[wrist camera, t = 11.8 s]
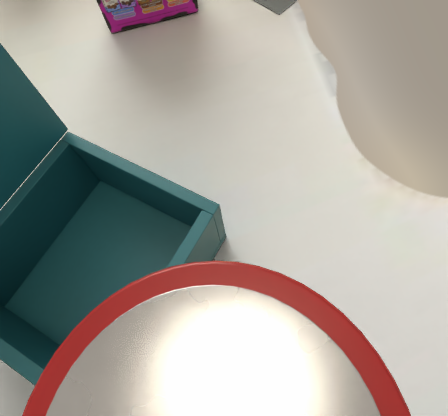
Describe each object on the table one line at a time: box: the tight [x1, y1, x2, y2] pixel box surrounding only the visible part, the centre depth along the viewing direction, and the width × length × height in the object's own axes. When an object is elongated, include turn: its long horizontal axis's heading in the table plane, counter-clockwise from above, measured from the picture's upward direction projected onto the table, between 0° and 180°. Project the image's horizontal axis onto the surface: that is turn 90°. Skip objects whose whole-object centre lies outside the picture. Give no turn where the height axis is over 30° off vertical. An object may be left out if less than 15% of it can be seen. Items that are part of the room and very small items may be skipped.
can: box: [22, 261, 411, 416], centre depth 10 cm, size 6×6×11 cm
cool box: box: [0, 132, 226, 386], centre depth 25 cm, size 14×15×7 cm
